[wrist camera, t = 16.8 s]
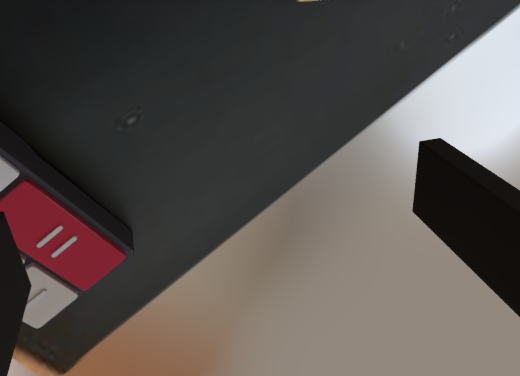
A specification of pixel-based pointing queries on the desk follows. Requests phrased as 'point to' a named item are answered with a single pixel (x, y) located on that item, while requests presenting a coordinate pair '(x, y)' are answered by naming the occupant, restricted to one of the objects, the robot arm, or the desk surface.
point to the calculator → (55, 231)
